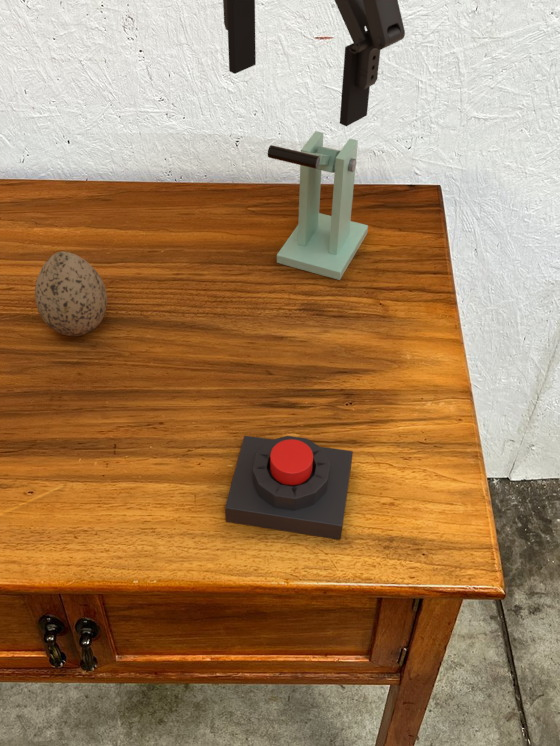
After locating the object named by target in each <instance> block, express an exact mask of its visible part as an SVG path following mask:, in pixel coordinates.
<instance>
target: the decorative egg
mask: <svg viewBox="0 0 560 746" xmlns="http://www.w3.org/2000/svg"><path fill="white" fill-rule="evenodd" d="M107 293H108V292H107V290H106V286H105V284H104V281H103V279H102V276H101V275H100V273H99V272H98V271H97V270H96V269H95V268H94V266H92V264H90V263H89V262H88V261H87V260H85V259H84V258H82V257H81V256H80V255H77V254H75V253H73V252H70V251H65V250H63V251H61V250H60V251H56V252H55V253H54V254H52V255H51V256H50V257H49V258H48V259H47V260H46V261H45V262H44V263H43V265H42V266H41V268H40V270H39V272H38V276H37V278H36V282H35V289H34V298H35V304H36V308H37V311H38V313H39V315H40V317H41V319H42V320H43V321H44V323H45V324H46V325H47V326H48V327H49V328H50V329H52V330H53V331H55V332H56V333H58V334H60V335H63V336H67V337H80V336H84V335H87V334H89V333H91V332H92V331H94V330H95V329H96V328H98V326H99V325H100V324H101V323H102V321H103V319H104V317H105V315H106V312H107V307H108V294H107Z"/></svg>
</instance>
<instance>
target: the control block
mask: <svg viewBox="0 0 560 746" xmlns="http://www.w3.org/2000/svg"><path fill="white" fill-rule="evenodd" d="M289 439H293V440H299V441H301V442H304V443H305V444H307V445H308V446H309V447H310V449H311V450H312V453H313V466H312V473H311V475H310V477H309V478H308V479H307V480H306V481H305V482H303V483H301V484H298V485H285V484H282V483H280V482H278V481H277V480H276V479H275V478H274V477H273V476H272V474H271V470H270V455H271V451H272V449H273V447H274V446H275V445H276V444H278V443H279V442H281V441H284V440H289ZM353 455H354V452H353V451H352V450H346V449H340V448H334V447H333V448H332V447H326V446H320V445H318V444H317V443H315V442H313V441H312V440H310V439H309V438H307V437H300V436H299V437H298V436H294V435H293V436H292V435H286V436H281V437H278V438H275V439H271V438H264V437H258V436H250V435H244V436H243V439H242V443H241V446H240V450H239V454H238V457H237V461H236V465H235V468H234V473H233V476H232V480H231V484H230V487H229V491H228V494H227V498H226V501H225V507H224V513H225V522H226V523H230V524H238V525H242V526H243V525H244V526H250V527H257V528H262V529H269V530H275V531H281V532H287V533H294V534H300V535H307V536H313V537H319V538H327V539H331V540H339V541H341V539H342V534H343V527H344V520H345V513H346V506H347V505H346V504H347V499H348V498H347V497H348V492H349V483H350V476H351V469H352V461H353Z"/></svg>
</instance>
